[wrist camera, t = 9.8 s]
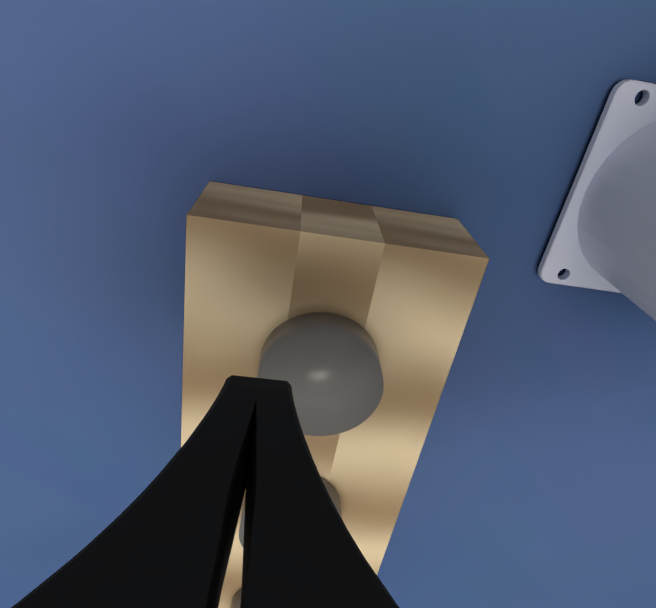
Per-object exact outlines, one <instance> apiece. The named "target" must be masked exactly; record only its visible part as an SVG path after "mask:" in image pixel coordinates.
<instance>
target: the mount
mask: <svg viewBox="0 0 656 608" xmlns="http://www.w3.org/2000/svg"><path fill="white" fill-rule="evenodd" d="M488 261H489V258H488V256H487V255H486V254H485V253H484V251H483V250H482V249H481V248H480V246H479V245H478V244H477V243H476V241H475V240H474V239H473V238H472V236H471V235H470V234H469V233H468V231H467V230H466V229H465V228H464V226H463V225H462V224H461V223H460V221H459V220H458V219H455V218H449V217H442V216H435V215H429V214H422V213H416V212H409V211H402V210H396V209H389V208H383V207H376V206H370V205H363V204H356V203H350V202H343V201H337V200H330V199H324V198H317V197H310V196H304V195H297V194H291V193H284V192H278V191H271V190H264V189H258V188H251V187H245V186H238V185H232V184H225V183H218V182H212V181H210V182H209V183H208V185H207V186H206V187H205V189H204V190H203V192H202V193H201V195H200V196H199V198H198V199H197V201H196V202H195V204H194V205H193V206H192V208H191V209H190V211H189V212H188V214H187V221H186V263H185V304H184V346H183V388H182V429H181V447H182V446H183V445H184V443H185V442H186V441H187V440H188V438H189V437H190V436H191V434H192V433H193V431H194V430H195V429H196V427H197V426H198V425H199V423H200V422H201V420H202V419H203V418H204V416H205V415H206V413H207V412H208V410H209V409H210V407H211V406H212V404H213V403H214V401H215V399H216V398H217V396H218V394H219V392H220V391H221V389H222V387H223V385H224V383H225V381H226V379H227V378H228V377H230V376H231V375H236V376H245V377H255V378H257V375H258V369H259V362H260V356H261V351H262V348H263V345H264V343H265V341H266V339H267V338H268V337H269V335H270V334H271V333H272V332H273V331H274V330H275V329H276V328H277V327H278V326H279V325H281V324H282V323H284V322H285V321H287V320H289V319H291V318H294V317H296V316H299V315H303V314H307V313H316V312H324V313H333V314H338V315H341V316H344V317H347V318H349V319H351V320H353V321H355V322H356V323H358V324H359V325H360V326H362V327H363V328H364V329H365V330H366V331H367V332H368V333H369V335H370V336H371V337H372V339H373V341H374V343H375V345H376V348H377V351H378V356H379V361H380V365H381V370H382V375H383V381H384V390H383V395H382V398H381V401H380V403H379V405H378V407H377V408H376V410H375V411H374V412H373V414H372V415H371V416H370V417H369V418H368V419H367V420H365V421H364V422H363V423H361V424H360V425H358V426H357V427H355V428H353V429H351V430H348V431H346V432H343V433H339V434H335V435H329V436H309V435H304V437H305V440H306V442H307V445H308V447H309V450H310V453H311V455H312V458H313V460H314V463H315V465H316V467H317V470H318V472H319V474H320V476H321V478H322V479H324V480H325V481H327V482H328V483H330V484H331V485H332V486H333V487H334V488H335V489H336V491H337V493H338V495H339V497H340V501H341V515H342V520H343V522H344V524H345V525H346V527H347V529H348V531H349V533H350V534H351V536H352V538H353V539H354V541H355V542H356V544H357V546H358V547H359V549H360V551H361V552H362V554H363V556H364V557H365V559H366V560H367V562H368V563H369V565H370V566H371V568H372V569H373V570H374V572H375V573H376V575H377V573H378V571H379V568H380V565H381V562H382V559H383V557H384V554H385V551H386V548H387V545H388V542H389V540H390V537H391V534H392V531H393V528H394V526H395V523H396V520H397V517H398V514H399V511H400V509H401V506H402V503H403V500H404V497H405V495H406V492H407V489H408V486H409V483H410V480H411V478H412V475H413V472H414V469H415V466H416V464H417V461H418V458H419V455H420V452H421V449H422V447H423V444H424V441H425V438H426V435H427V433H428V430H429V427H430V424H431V421H432V419H433V416H434V413H435V410H436V407H437V404H438V402H439V399H440V396H441V393H442V390H443V388H444V385H445V382H446V379H447V376H448V373H449V371H450V368H451V365H452V362H453V359H454V357H455V354H456V351H457V348H458V345H459V342H460V340H461V337H462V334H463V331H464V328H465V326H466V323H467V320H468V317H469V314H470V312H471V309H472V306H473V303H474V300H475V297H476V295H477V292H478V289H479V286H480V283H481V281H482V278H483V275H484V272H485V269H486V266H487V264H488ZM245 492H246V489H245ZM244 497H245V494H244ZM243 500H244V498H243ZM242 507H243V502H242ZM242 507H241V511H240V515H239V519H238V524H237V528H236V532H235V536H234V540H233V545H232V549H231V553H230V557H229V562H228V566H227V570H226V574H225V578H224V583H223V587H222V591H221V596H220V601H219V607H218V608H231V602H232V599H233V597H234V596H235V595H236V594H237V593H238V592H239V591H240V590H242V566H243V547H242V545H241V543H240V540H239V528H240V521H241V514H242Z"/></svg>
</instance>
